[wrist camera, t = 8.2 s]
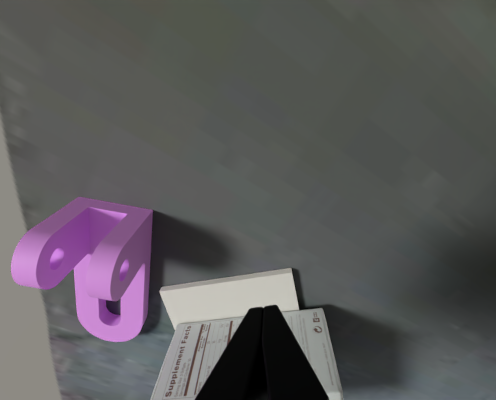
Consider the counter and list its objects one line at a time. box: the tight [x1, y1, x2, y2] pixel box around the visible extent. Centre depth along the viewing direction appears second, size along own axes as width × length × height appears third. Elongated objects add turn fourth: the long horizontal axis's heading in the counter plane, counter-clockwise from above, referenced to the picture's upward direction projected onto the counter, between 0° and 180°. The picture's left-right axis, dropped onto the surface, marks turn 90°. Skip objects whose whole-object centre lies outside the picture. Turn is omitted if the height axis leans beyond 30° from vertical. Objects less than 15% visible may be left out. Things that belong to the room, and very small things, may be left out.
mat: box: [159, 268, 299, 330], centre depth 27 cm, size 11×14×1 cm
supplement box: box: [150, 308, 343, 400], centre depth 23 cm, size 7×7×13 cm
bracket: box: [11, 197, 153, 342], centre depth 22 cm, size 13×6×7 cm, turn 170°
